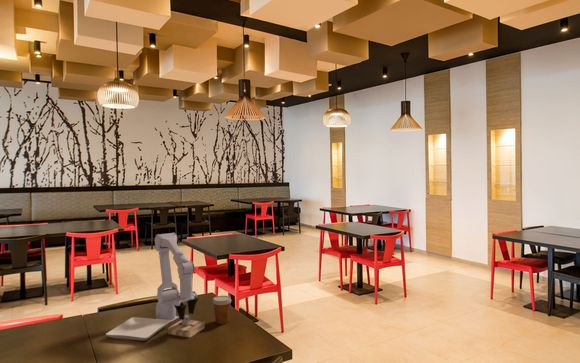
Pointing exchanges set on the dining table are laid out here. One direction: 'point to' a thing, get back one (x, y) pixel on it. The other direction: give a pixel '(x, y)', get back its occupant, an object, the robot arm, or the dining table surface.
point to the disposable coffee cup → (221, 308)
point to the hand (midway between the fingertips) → (186, 316)
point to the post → (186, 320)
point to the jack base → (186, 328)
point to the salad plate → (138, 329)
